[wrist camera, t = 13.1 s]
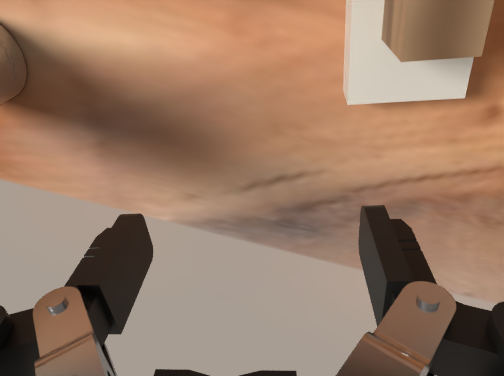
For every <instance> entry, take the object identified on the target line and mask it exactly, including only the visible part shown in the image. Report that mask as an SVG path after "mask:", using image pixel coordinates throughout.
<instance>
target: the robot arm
mask: <svg viewBox="0 0 504 376" xmlns="http://www.w3.org/2000/svg"><path fill="white" fill-rule="evenodd" d="M26 76H27V70H26V63H25V60H24V57H23V54H22V52H21V50H20V48H19V46H18V44H17V43H16V42H15V40H14V39H13V37H12V36H11V35H10V34H9V33H8V32H7V31H6V30H5V29H4V27H3V26H1V25H0V104H2V103H4V102H6V101H8V100H9V99H11V98H13V97H15V96H16V95H18V94H19V93H20V92H21V90H22V89H23V88H24V85H25V82H26ZM89 248H90V249H88V251H87V252H86V254H85V255H84V258H82V260H81V261H80V263H79V264H78V266H77V268H76V269H75V271H74V272H73V274H72V275H71V277H70V278H69V280H68V282H67V283H66V285H65V286H64V287H61V288H58V289H55V290H53V291H51V292H49V293H47V294H46V295H44V296H43V297H42V298H41V299H40V300H39V301H38V302H37V303H36V305H35V307H34V308H32V309H29V310H25V311H21V312H18V313H14V314H10V315H9V314H8V313H7V311H6V310H5V309H4V307H2V306H0V376H117V374H116V371H115V368H114V365H113V363H112V360H111V358H110V355H109V352H108V349H107V346H106V344H105V340H106V338H107V336H108V334H121V333H122V331H123V329H124V326H125V324H126V321H127V319H128V317H129V314H130V312H131V309H132V307H133V305H134V302H135V300H136V298H137V295H138V293H139V290H140V288H141V286H142V283H143V281H144V278H145V276H146V274H147V271H148V269H149V267H150V264H151V262H152V258H153V245H152V242H151V238H150V235H149V232H148V229H147V226H146V223H145V219H144V217H143V215H142V214H121V215H120V216H119V217H118V218H117V220H116V221H115V223H114V225H113V226H112V228H107V229H105V230H104V231H103V232H102V233H101V234H99V235H98V236H97V237H96V238H95V240H94V242H93V243H92V244H91V246H90V247H89ZM359 254H360V259H361V263H362V267H363V271H364V275H365V279H366V283H367V286H368V290H369V294H370V299H371V303H372V306H373V311H374V315H375V319H376V322H377V329H376V330H375V331H374V332H373V333H371V332H367V333H366V334H365V335H364V336H363V337H362V338H361V340H360V341H359V343H358V344H357V346H356V347H355V348H354V350H353V351H352V353H351V354H350V356H349V357H348V359H347V360H346V362H345V363H344V364H343V366H342V367H341V369H340V370H339V372H338V373H337V375H336V376H436V375H437V376H504V302H500V303H498V304H497V305H495V306H494V307H493V309H492V311H489V310H484V309H480V308H476V307H472V306H468V305H464V304H462V303H459V302H457V301H455V300H454V298H453V296H452V295H451V294H450V293H449V292H448V291H447V290H446V289H444V288H443V287H441V286H439V285H437V283H436V281H435V279H434V277H433V274H432V272H431V270H430V268H429V266H428V263H427V261H426V259H425V257H424V255H423V253H422V251H421V248H420V246H419V244H418V242H417V241H416V237H415V235H414V233H413V231H412V229H411V228H410V227H409V226H408V225H407V224H406V223H405V222H404V221H402V220H401V219H390V218H389V215H388V213H387V210H386V208H385V206H384V205H375V206H362V207H361V215H360V228H359ZM154 376H209V375H206V374H202V373H199V372H195V371H192V370H165V369H164V370H163V369H162V370H161V369H156V370H155V373H154ZM240 376H297V375H296V371H257V372H252V373H248V374H244V375H240Z"/></svg>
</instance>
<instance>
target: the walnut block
mask: <svg viewBox="0 0 504 376" xmlns="http://www.w3.org/2000/svg"><path fill="white" fill-rule="evenodd" d="M493 5H494V0H385V2H384V13H383V25H382V36H381V39H382V41H383V42H384V43H385V44H386V45H387V46H388V48H389V49H390V50H391V51H392V52H393V53H394V54H395V56H396V57H397V58H398V59H399V60H400V61H401V62H410V61H424V60H438V59H453V58H467V57H481V56H482V53H483V48H484V44H485V40H486V35H487V31H488V26H489V22H490V18H491V13H492V9H493Z"/></svg>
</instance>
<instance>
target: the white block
mask: <svg viewBox="0 0 504 376" xmlns="http://www.w3.org/2000/svg"><path fill="white" fill-rule="evenodd" d="M384 2H385V0H346V22H345V51H344V80H343V91H344V95H345V98H346V101H347V104H348V105H354V104H371V103H388V102H406V101H423V100H441V99H458V98H465V95H466V91H467V86H468V81H469V77H470V72H471V68H472V63H473V58H474V57H467V58H453V59H438V60H424V61H410V62H401V61H400V60H399V59H398V58H397V57H396V56H395V54H394V53H393V52H392V51H391V50H390V49H389V48H388V46H387V45H386V44H385V43H384V42H383V41H382V39H381V36H382V25H383V13H384Z"/></svg>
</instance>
